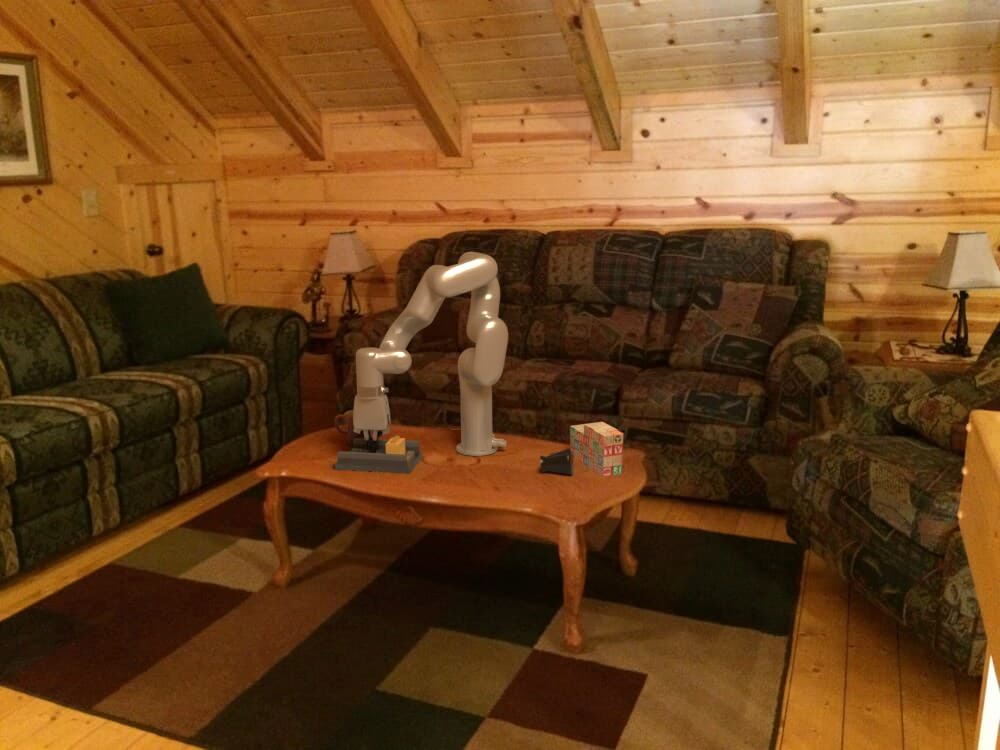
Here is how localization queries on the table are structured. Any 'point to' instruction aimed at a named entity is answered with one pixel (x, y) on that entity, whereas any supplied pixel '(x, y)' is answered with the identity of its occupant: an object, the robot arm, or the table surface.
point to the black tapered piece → (558, 462)
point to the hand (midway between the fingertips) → (372, 452)
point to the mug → (348, 427)
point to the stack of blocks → (598, 447)
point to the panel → (411, 463)
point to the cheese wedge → (396, 446)
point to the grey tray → (376, 454)
